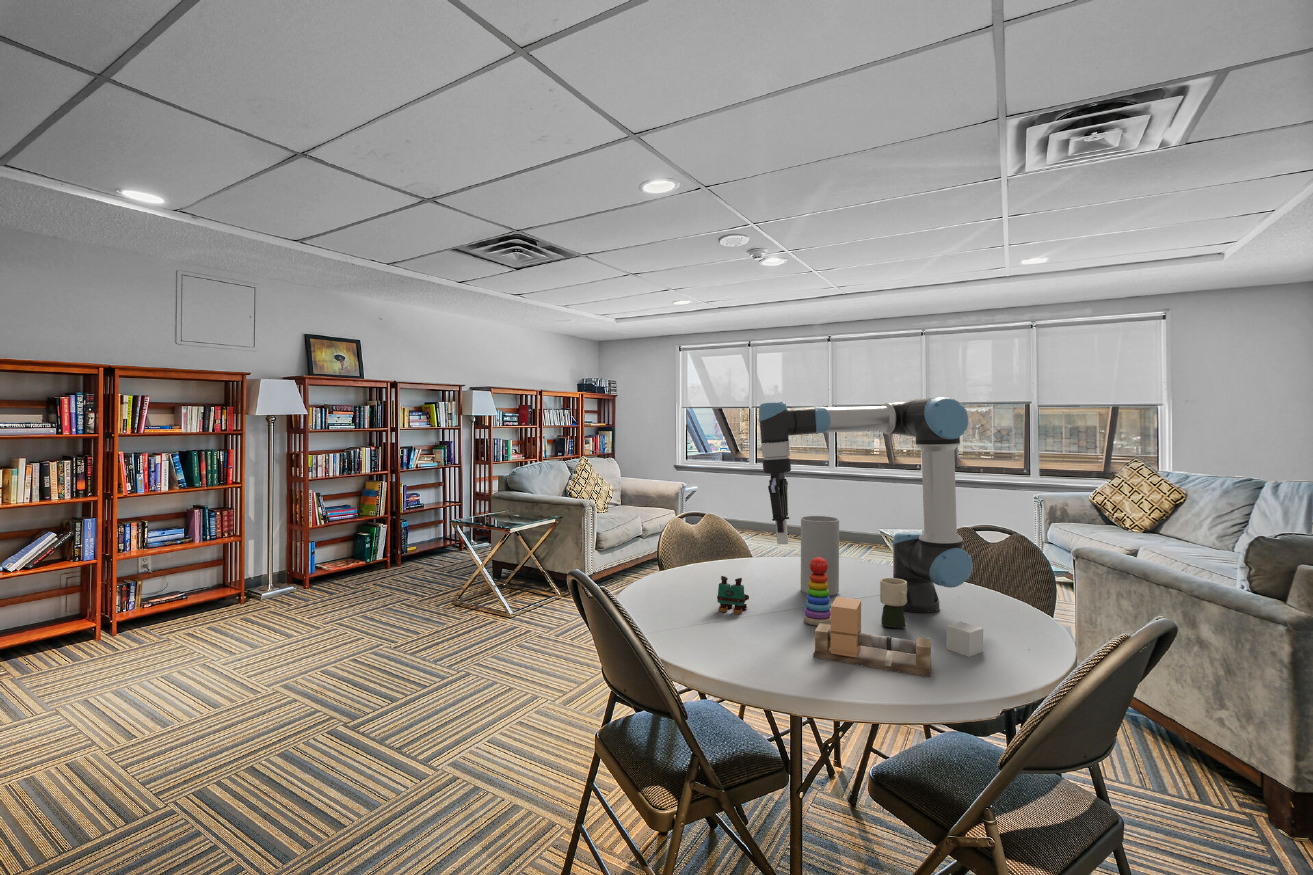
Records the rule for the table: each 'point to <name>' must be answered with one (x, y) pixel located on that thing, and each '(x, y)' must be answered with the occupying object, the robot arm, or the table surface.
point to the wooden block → (845, 626)
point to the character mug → (893, 601)
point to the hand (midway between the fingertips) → (782, 543)
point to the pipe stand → (879, 652)
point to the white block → (965, 638)
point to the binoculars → (731, 596)
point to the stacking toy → (818, 594)
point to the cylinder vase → (820, 549)
